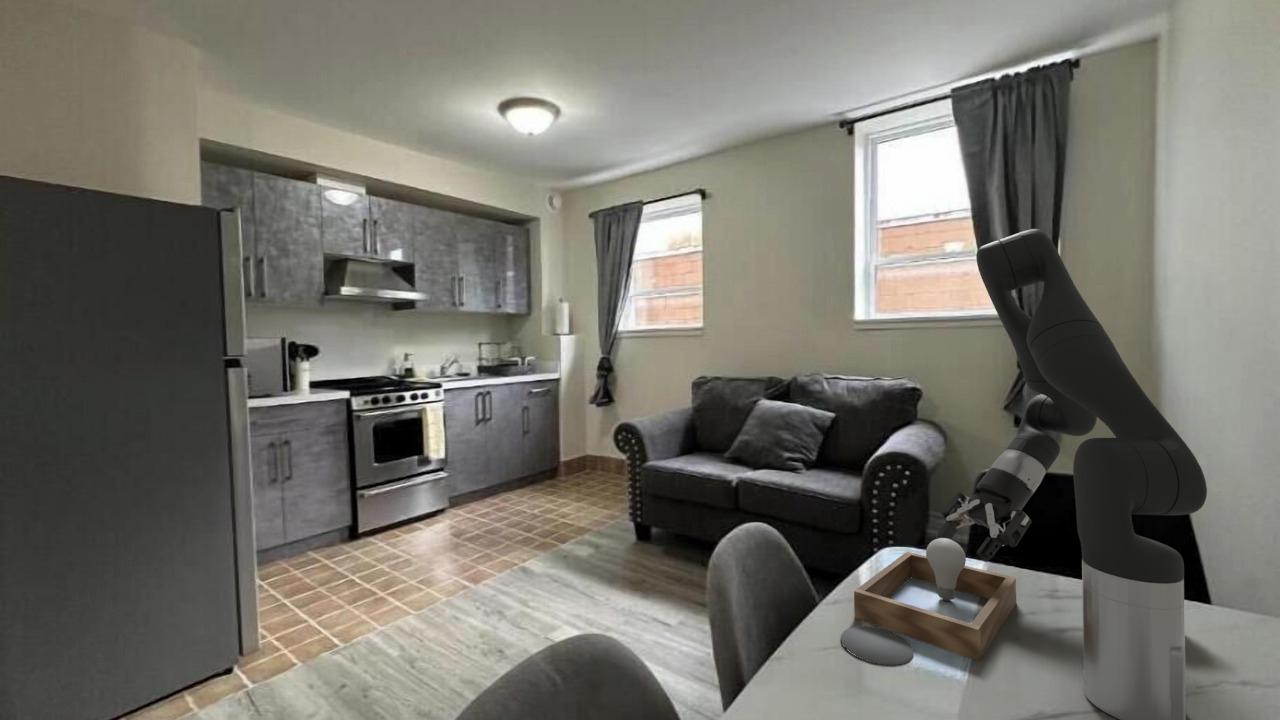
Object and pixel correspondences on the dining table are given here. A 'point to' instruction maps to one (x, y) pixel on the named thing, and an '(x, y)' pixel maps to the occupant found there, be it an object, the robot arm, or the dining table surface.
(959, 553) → the lightbulb
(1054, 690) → the dining table surface
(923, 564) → the shallow wooden tray
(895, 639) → the mat
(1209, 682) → the dining table surface
